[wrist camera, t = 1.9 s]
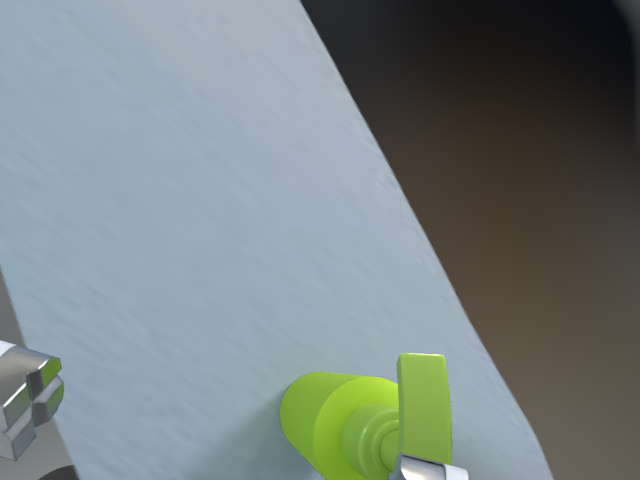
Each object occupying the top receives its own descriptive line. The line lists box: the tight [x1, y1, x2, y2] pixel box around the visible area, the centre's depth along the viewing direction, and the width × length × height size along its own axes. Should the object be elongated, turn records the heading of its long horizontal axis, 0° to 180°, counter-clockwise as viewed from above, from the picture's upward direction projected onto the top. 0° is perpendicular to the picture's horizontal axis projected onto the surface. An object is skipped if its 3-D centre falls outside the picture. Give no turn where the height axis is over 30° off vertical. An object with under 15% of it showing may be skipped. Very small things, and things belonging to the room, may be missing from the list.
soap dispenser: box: [280, 353, 452, 480], centre depth 28 cm, size 6×7×20 cm
